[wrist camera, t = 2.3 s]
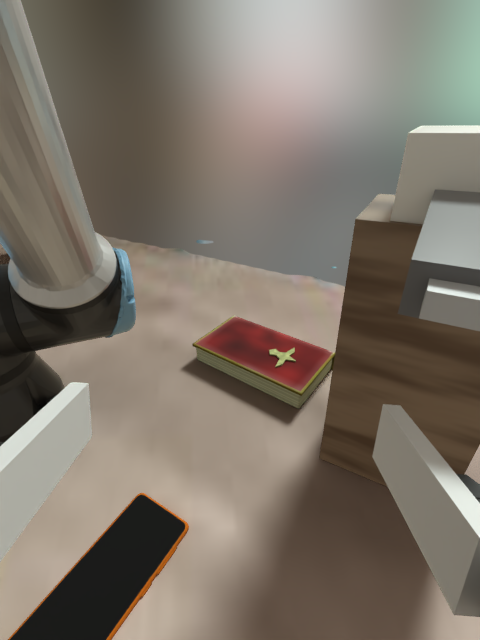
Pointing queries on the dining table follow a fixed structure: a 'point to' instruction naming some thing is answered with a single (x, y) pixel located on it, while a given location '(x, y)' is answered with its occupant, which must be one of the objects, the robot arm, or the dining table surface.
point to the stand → (396, 356)
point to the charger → (442, 224)
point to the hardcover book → (265, 359)
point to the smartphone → (108, 576)
